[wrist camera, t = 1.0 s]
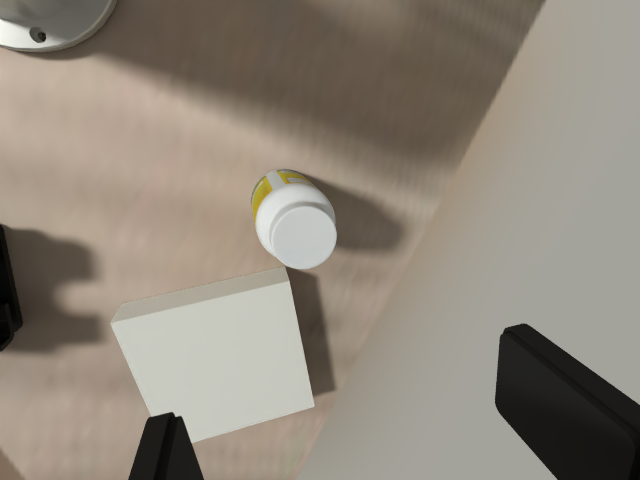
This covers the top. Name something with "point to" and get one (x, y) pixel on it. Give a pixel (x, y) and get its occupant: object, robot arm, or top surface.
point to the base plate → (218, 353)
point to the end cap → (7, 297)
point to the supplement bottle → (293, 219)
